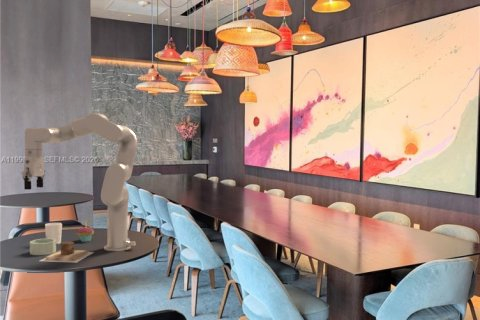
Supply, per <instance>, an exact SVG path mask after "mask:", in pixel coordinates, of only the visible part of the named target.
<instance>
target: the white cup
mask: <svg viewBox="0 0 480 320" xmlns="http://www.w3.org/2000/svg"><path fill="white" fill-rule="evenodd" d="M44 227H45V228H44V231H45V233H44V234H45V238H50V239H56V245H61V243H62V231H63V224H62V222H50V223H49V222H48V223H45V224H44Z"/></svg>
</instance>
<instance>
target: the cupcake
mask: <svg viewBox="0 0 480 320" xmlns="http://www.w3.org/2000/svg"><path fill="white" fill-rule="evenodd" d="M84 223H85V224H84V225H85V226H84V227H81V228H79V229H78V230H77V231H76V235H77V236H78V237H79V239H80V242H83V243H86V242H91V240H92V237H93V235H94V233H95V231H94V230H95V229H93V228H92V227H89V226H88V220H87V219H85V222H84Z"/></svg>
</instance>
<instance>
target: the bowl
mask: <svg viewBox="0 0 480 320" xmlns="http://www.w3.org/2000/svg"><path fill="white" fill-rule="evenodd" d="M55 252H57V244H56V239H50V238H46V237H45V238H38V239H33V240H30V241H29V255H32V256H45V255H46V256H48V255H51V254H53V253H55Z"/></svg>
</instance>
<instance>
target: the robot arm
mask: <svg viewBox="0 0 480 320" xmlns="http://www.w3.org/2000/svg"><path fill="white" fill-rule="evenodd" d="M91 134H95V135H97V136H99V137H100V138H103V139H105V140H106V141H108V142H109V143H110V142H111V143H115V144H116V143H117V144H119V148H118V150H117V154H116V159H115V162H114V163H112V164H110V165H109V166H108V167H107V169H106V171H105V174H104V179H103V183H102V186H101V189H100V190H101V193H100V200H101V202H102V203H103V204H104V205H105V206H107V211H106V212H107V216H106V217H107V219H106V225H107V226H106V227H107V228H106V234H107V236H106V237H107V239H106V243H107V244H106V245H104V247H103V250H104V251H108V252H122V251H127V250H131V247H132V246H133V247H135V246H136V241H135V240H134V241H133V240H132V241H131V240H130V238H129V235H128V234H129V232H128V228H129V227H128V224H129V223H128V218H129V217H128V216H129V215H128V214H129V210H128V208H129V200H130V194H129V193H130V191H129V189H128V188H127V186H126V185H125V182H127V181H129V179H130V178H131V177H132V174H133V168H134V164H135V159H136V155H137V151H138V138H137V135H136V134H135V133H134V131H133V130H132V129H131V128H130V127H128V126H126V125H122V124H121V125H120V124H116V123H115V122H113V121H111V120H109V119H108V117H107V116H106V115H105V114H103V113H99V112H90V113H88V114H87V115H86V116H84V117H80V118H76V119H73V120H72V121H71V123H69V124H66V125H63V126H59V127H39V128H38V127H27V128H25V129H24V160H23V161H24V163H23V170H22V171H21V175H22V179H23V182H24V183H23V185H24V190H27V191H28V190H32V177H34V178H37V179H36V188H44V179H45V172H46V170H45V162H44V161H45V160H44V158H43V144H58V143H59V144H60V143H62V142H67V141H71V140H73V139H77V138H80V137H85V136H88V135H91Z"/></svg>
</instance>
